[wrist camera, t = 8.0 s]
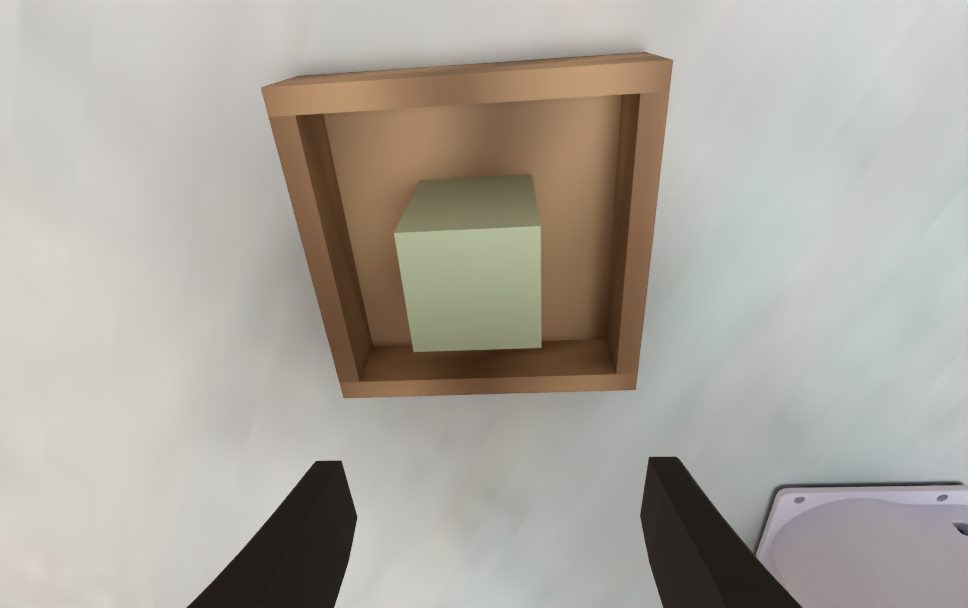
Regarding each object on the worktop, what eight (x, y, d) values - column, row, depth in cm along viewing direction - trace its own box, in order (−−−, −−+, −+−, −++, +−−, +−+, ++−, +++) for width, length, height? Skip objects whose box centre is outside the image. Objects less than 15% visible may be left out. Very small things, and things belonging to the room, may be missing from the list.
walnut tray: (645, 52, 16) (673, 60, 14) (620, 345, 22) (635, 389, 19) (297, 76, 17) (260, 87, 14) (361, 354, 23) (343, 398, 20)
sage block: (531, 173, 18) (540, 225, 13) (533, 274, 20) (541, 347, 15) (420, 179, 18) (393, 233, 14) (432, 278, 20) (413, 352, 16)
